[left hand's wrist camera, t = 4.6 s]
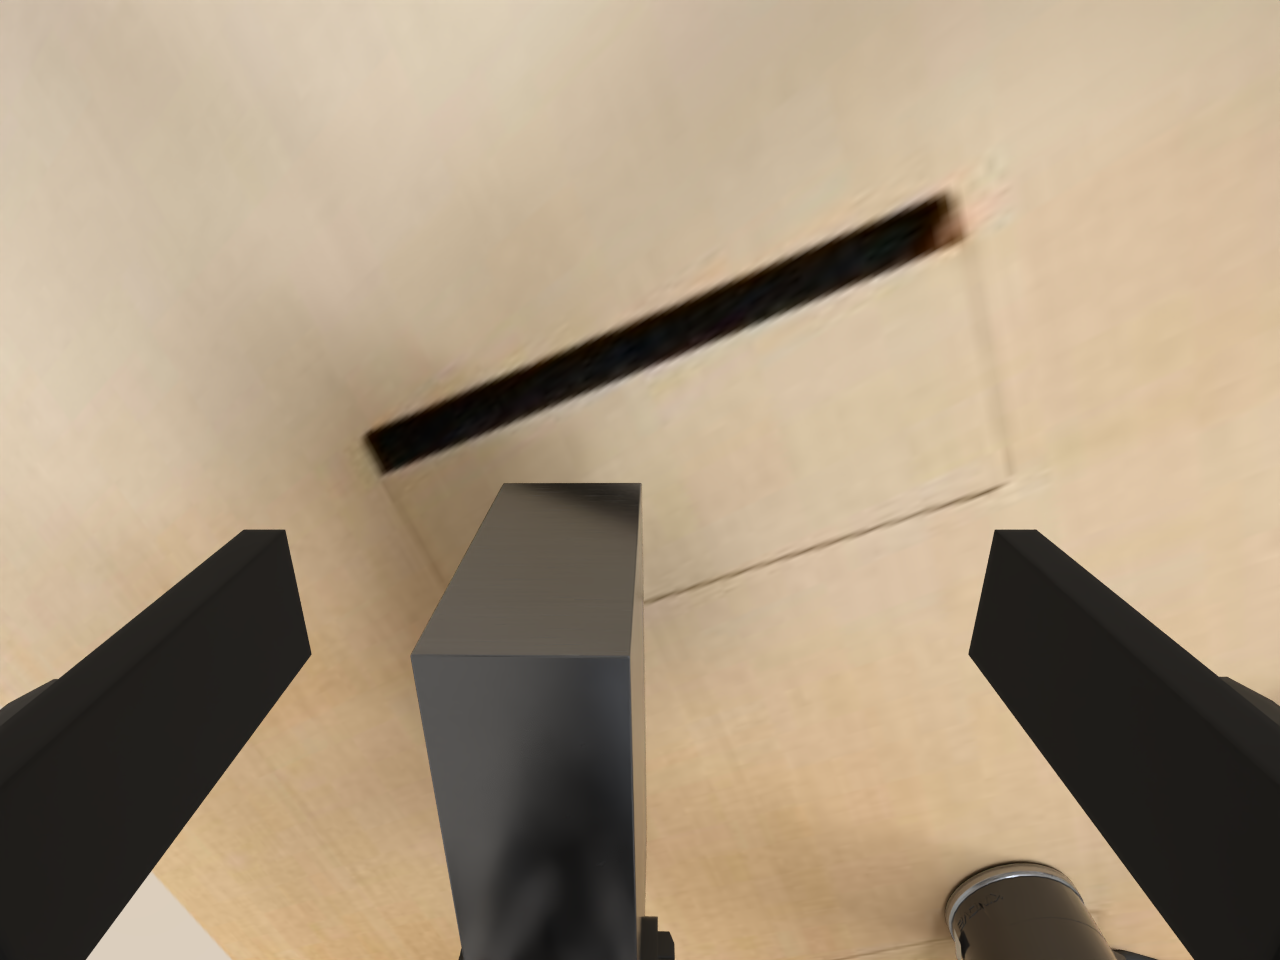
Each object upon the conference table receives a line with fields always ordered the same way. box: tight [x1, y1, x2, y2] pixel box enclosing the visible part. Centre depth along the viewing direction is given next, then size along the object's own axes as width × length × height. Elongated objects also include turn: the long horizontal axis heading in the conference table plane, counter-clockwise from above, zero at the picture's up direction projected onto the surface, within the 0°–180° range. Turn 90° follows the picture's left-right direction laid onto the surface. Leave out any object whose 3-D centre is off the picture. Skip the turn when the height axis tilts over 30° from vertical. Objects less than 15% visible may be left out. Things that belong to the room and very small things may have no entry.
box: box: [411, 483, 647, 960], centre depth 29 cm, size 21×6×12 cm, turn 1°
